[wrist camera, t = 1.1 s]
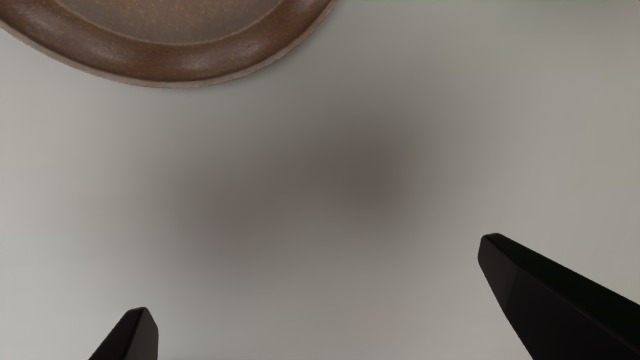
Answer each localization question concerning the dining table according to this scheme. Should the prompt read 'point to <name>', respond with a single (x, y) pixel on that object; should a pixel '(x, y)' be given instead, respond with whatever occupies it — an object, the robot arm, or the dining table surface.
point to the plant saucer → (164, 36)
